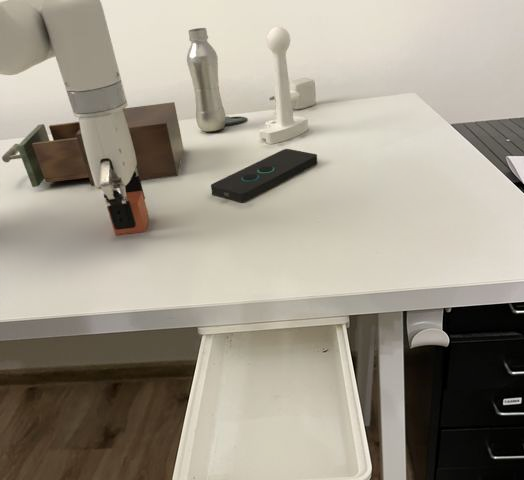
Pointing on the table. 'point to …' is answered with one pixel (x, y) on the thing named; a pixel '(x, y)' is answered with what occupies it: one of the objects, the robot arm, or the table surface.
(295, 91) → the power adapter
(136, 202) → the block
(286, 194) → the table surface
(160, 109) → the cabinet
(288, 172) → the smart home device
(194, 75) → the metal water bottle
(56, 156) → the drawer
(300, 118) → the joystick
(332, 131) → the table surface
